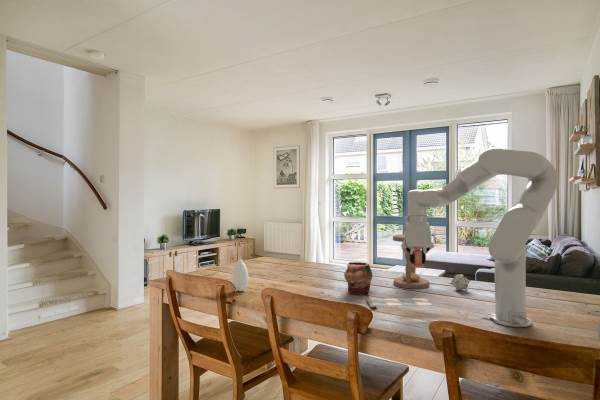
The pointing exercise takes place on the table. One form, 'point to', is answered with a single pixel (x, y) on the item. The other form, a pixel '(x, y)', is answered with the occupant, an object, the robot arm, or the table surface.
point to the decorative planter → (358, 277)
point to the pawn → (417, 258)
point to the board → (397, 302)
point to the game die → (460, 282)
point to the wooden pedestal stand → (409, 272)
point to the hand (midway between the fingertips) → (417, 262)
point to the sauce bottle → (240, 275)
